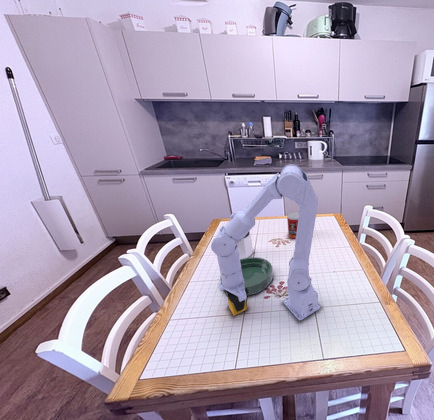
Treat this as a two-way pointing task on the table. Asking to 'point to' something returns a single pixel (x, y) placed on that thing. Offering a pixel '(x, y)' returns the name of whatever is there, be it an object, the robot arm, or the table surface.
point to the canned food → (292, 224)
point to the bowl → (256, 274)
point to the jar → (245, 246)
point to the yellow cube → (234, 308)
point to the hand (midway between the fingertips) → (237, 305)
